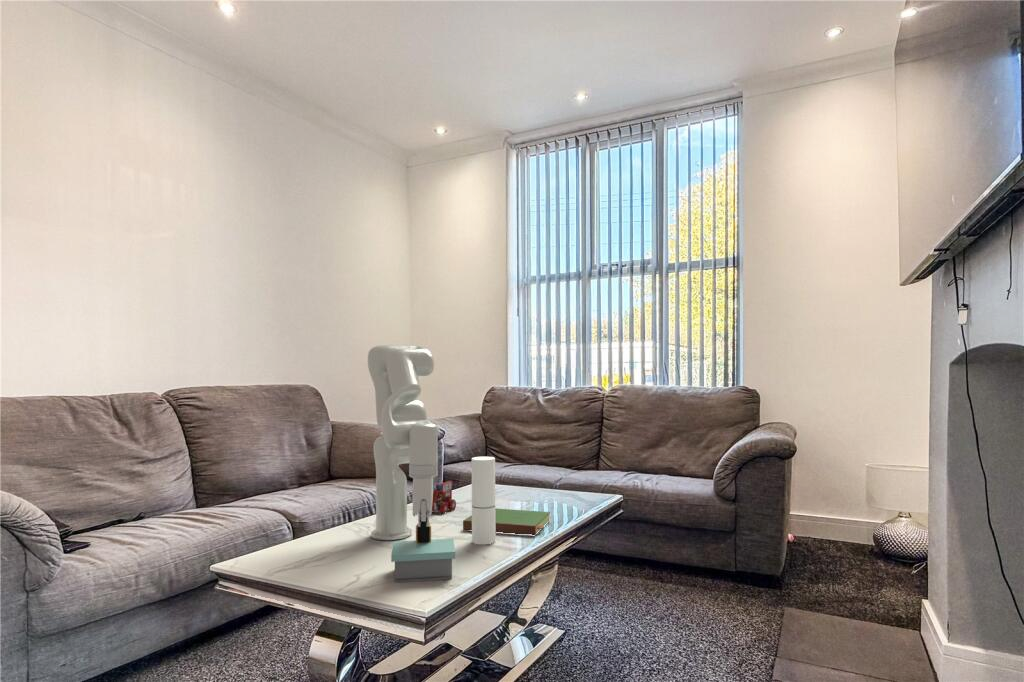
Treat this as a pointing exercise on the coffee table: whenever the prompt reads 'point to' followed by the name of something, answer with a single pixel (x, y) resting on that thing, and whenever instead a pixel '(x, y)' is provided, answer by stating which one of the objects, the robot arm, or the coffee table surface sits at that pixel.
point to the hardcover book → (515, 521)
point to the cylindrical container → (483, 500)
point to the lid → (423, 549)
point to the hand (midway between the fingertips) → (423, 540)
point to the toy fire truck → (443, 498)
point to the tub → (423, 570)
